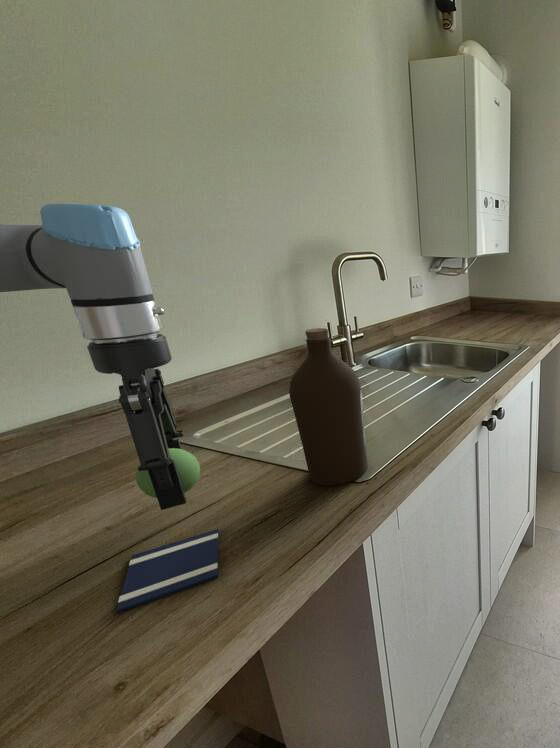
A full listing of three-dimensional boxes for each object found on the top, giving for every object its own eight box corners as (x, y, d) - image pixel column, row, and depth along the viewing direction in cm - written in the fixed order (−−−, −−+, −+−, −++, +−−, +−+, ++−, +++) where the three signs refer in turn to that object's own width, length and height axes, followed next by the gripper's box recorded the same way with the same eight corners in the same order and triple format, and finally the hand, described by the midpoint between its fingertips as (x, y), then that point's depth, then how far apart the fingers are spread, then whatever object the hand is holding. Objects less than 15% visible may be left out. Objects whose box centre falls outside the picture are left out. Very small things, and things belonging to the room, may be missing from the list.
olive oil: (321, 496, 64) (292, 340, 56) (296, 472, 71) (267, 330, 63) (382, 470, 71) (365, 329, 63) (354, 450, 78) (335, 321, 70)
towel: (133, 557, 52) (132, 554, 52) (218, 531, 56) (217, 528, 56) (117, 613, 44) (115, 610, 44) (218, 577, 49) (217, 573, 48)
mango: (148, 490, 60) (133, 448, 58) (206, 476, 64) (194, 435, 62) (140, 515, 55) (124, 469, 52) (204, 497, 58) (191, 454, 56)
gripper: (154, 347, 46) (205, 518, 53) (171, 322, 62) (209, 457, 69) (60, 358, 42) (130, 541, 49) (104, 328, 58) (152, 470, 65)
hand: (176, 492), depth 59 cm, fingers closed on mango, 7 cm apart
